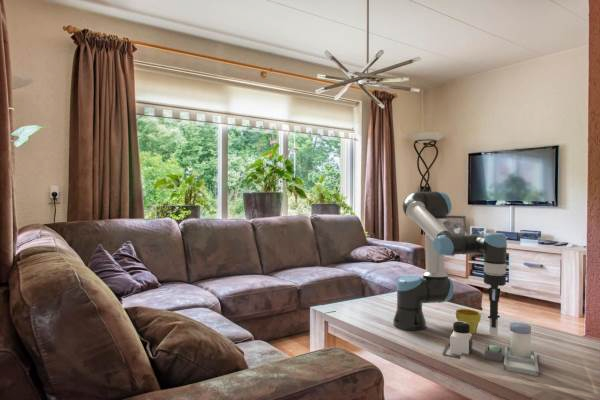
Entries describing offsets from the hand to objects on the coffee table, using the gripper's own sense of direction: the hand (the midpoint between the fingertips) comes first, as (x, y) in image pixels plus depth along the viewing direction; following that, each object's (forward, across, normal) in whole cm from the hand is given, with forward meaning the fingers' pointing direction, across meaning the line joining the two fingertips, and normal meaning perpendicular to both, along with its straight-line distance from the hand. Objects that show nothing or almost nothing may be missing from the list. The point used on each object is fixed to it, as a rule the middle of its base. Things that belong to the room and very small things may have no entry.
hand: (493, 334), depth 150 cm
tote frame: (+10, +1, +12) cm, 15 cm away
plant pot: (+11, +26, +12) cm, 31 cm away
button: (+7, -1, 0) cm, 7 cm away
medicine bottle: (+10, +1, +12) cm, 15 cm away
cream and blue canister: (+8, +4, -9) cm, 13 cm away
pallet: (+10, -1, -6) cm, 12 cm away
